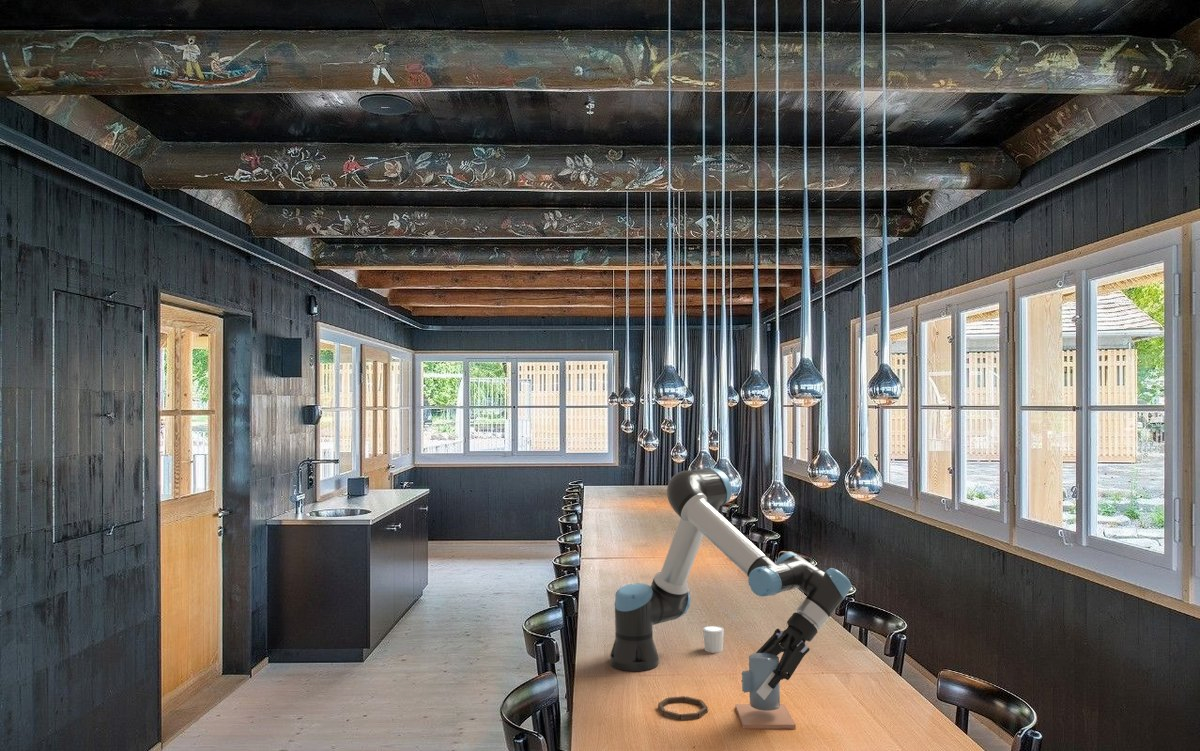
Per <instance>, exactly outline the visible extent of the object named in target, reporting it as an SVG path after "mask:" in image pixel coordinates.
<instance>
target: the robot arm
mask: <svg viewBox="0 0 1200 751" xmlns="http://www.w3.org/2000/svg"><path fill="white" fill-rule="evenodd" d="M732 491H733V488H732V484H731V482H730V479H729V476H727V474H726V473H725V472H724V471H722V469H719V468H714V467H712V468H710V467H706V468H702V469H689V470H687V469H686V470H682V471H680V472H677V473H676V474H674V475H673V476H672V477H671V478H670V480H669V481H668V483H667V487H666V496H667V501H668V503H669V505H670V506H671V508H672V510H673V511H674V512H675V514H677V515H678V517H679V519H678V520H679V521H678V523H677V527H676V529H675V532H674V535H673V538H672V540H671V542H670V546H669V549H668V551H667V554H666V556H665V560H664V561H663V565H662V567H661V571H659V572H656V573H655V574H654V576H653V578H652V582H651V584H648V583H647V584H646V583H634V584H633V583H632V584H631V583H630V584H627V585H623V586H621V587H619V589H617V590H616V592H615V596H614V598H615V599H614V617H615V618H614V619H615V620H614V622H615V623H614V624H615V626H614V628H615V629H614V630H615V637H614V640H613V641H614V642H613V645H612V648H611V650H610V651H611V652H610V655H609V664H610V666H611V667H613V668H615V669H618V670H621V671H627V672H641V671H642V672H643V671H648V670H652V669H654V668H656V667H658V665H659V654H658V650H657V647H656V645H655V641H654V638H653V637H654V636H653V629H654V628H653V626H654V625H659V624H662V623H666V622H670V621H674V620H677V619H679V618H681V617H682V616H684V615H685V614H686V613H687V612H688V611H689V609H690V606H691V596H690V594H691V593H690V591H689V589H690V588H689V584H688V583H687V581H688V578H689V576H690V573H691V570H692V568H693V565H694V562H695V559H696V556H697V554H698V552H699V549H700V546H701V543H702V540H703V538H704V536H705V537H706V538H707V539H708V540H709V542H711V543H712V544H713V545H714V546H715V547H716V548H717V549H719V551H720V552H721V553H722V554H724V555H725V556H726V557H727V559H729V560H730V561H731V563H733V564H734V565H735V566H736V567H737V568H738V569H740V571H741V572H743V573H744V574H745V576H747V578H748V580H747V581H748V585H749V587H750V589H751V592H752V593H753V594H755V596H759V597H762V598H764V597H771V596H775V595H777V594H780V593H783V592H787V591H791V590H794V589H799V590H800V591H802V592H803V593H804V594H806V597H805V598H804V599H803V600H802V602H801V603H800V604H799V605H798V607H797V608H796V609H795V610H796V612H793V613H792V614H791V616H790V617H789V618H788V619H787V621H786V625H787V627H786V628H785V629H784V630H783V631H782V630H781V629H780V628H776V629H775V630H774V632H773V634H772V635H771V636H770V637H769V638H768V639H767V641H766V642H765V643H764V644H762V646H761V647H760V648H759V649H758V650H757V651H756V652H755V653H769V654H773V655H776V656H778V655H780V654H781V653H782V656H781V658H780V659H779V664H778V666H777V669H776V670H773V672H774V673H775V674H774V673H773V672H772V673H771V674H770V675H769V676H768V678H767V679H766V680H765V681H764V683H763V684H762V685H761V687H760V688H759V689H758V690H757V692H756V693H757V694H758V695H759V696H761V697H762V698H763V699H764V700H765V699H766V698H767V696H768V695H769V694H770V692H771V691H772V690H773V689H774V688H775V687H776V686H777V684H778V683H780V682H781V681H783V680H786V681H789V680H790V679H791V678H792V676H793V674H794V672H795V671H796V669H797V668H798V666H799V664H800V663H801V662H802V660H803V658H804V657H805V656H806V655H807V653H809V651H810V647H809V646H808V645H807V644H806V642H808V643H809V642H812V640H813V639H814V638H815V636H816V635H817V634H818V630H821V629H822V627H823V626H824V624H825V623H826V622H827V620H828V619H829V618H830V617H831V615H832V614H833V613H834V612H835V610H836V609H837V608H838V607H839V606H840V605H841V603H842V602H843V600H845V599H846V596H847V595H848V594H849V592H850V590H851V589H852V583H851V581H850V579H849V578H848V577H847V576H846V575H845V574H844V573H842V572H841V571H840V570H838V569H836V568H833V567H830V568H828V569H827V570H826V571H823V570H821V569H819V567H817V566H816V565H813V563H810V562H809V561H807V560H806V559H805V558H804V557H803V556H801V555H798V554H796V553H795V552H794V551H790V550H789V551H786V552H784V553H783V554H781V555H780V556H779V558H778V559H777V562H774V561H773V560H772V559H771V558H769V557H768V556H767V555H766V554H765V553H764V552H763V551H762V550H760V549H759V548H758V547H757V546H756V545H755V544H754V543H753V542H752V541H751V540H749V539H748V538H747V536H745V535H744V534H743V533H742V532H741V531H740V530H739V529H738V528H737V527H735V526H734V525H733V524H732V523H731V521H729V520H728V519H727V518H726V517H724V515H723V514H721V513H720V512H719V508H720V507H721V506H724V505H726V504H727V503H728V502H729V501H730V499H731V497H732V493H733V492H732ZM741 682H742V679H741Z"/></svg>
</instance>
